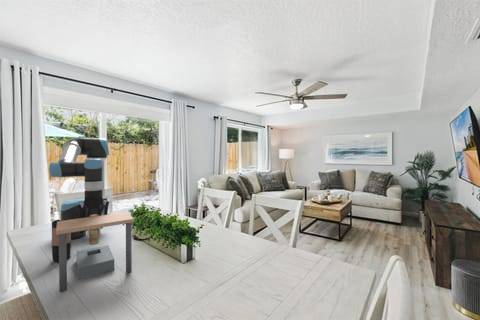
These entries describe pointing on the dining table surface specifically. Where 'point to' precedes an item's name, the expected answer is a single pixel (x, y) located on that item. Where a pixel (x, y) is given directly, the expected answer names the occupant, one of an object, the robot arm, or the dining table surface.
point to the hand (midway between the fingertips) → (93, 236)
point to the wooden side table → (87, 224)
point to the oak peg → (93, 234)
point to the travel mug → (56, 242)
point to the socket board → (94, 261)
